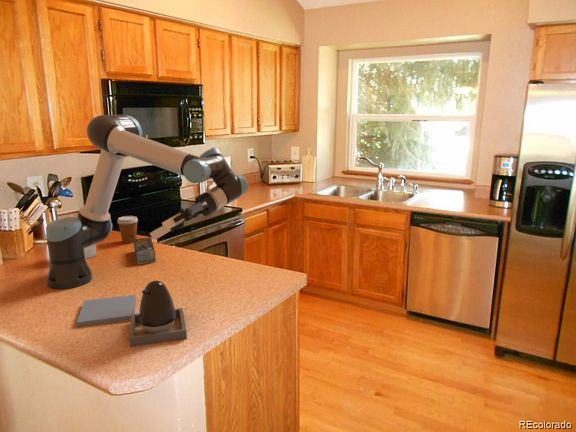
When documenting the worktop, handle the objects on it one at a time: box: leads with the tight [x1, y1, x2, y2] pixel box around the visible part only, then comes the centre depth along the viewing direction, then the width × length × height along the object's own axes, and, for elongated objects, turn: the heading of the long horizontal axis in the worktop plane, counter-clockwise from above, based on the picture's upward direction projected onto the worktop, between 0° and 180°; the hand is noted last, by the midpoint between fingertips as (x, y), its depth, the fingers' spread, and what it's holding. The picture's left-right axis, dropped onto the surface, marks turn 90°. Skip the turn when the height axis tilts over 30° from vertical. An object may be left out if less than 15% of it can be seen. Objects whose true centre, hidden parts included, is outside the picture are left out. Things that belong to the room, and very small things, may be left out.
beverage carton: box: [133, 236, 157, 265], centre depth 191 cm, size 8×19×7 cm, turn 21°
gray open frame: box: [128, 307, 187, 348], centre depth 127 cm, size 15×15×2 cm
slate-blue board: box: [76, 294, 137, 328], centre depth 138 cm, size 16×16×2 cm
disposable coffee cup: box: [116, 215, 139, 244], centre depth 212 cm, size 10×10×12 cm
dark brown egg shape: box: [138, 280, 176, 334], centre depth 125 cm, size 10×10×15 cm
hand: (157, 231), depth 136 cm, fingers open, 13 cm apart
